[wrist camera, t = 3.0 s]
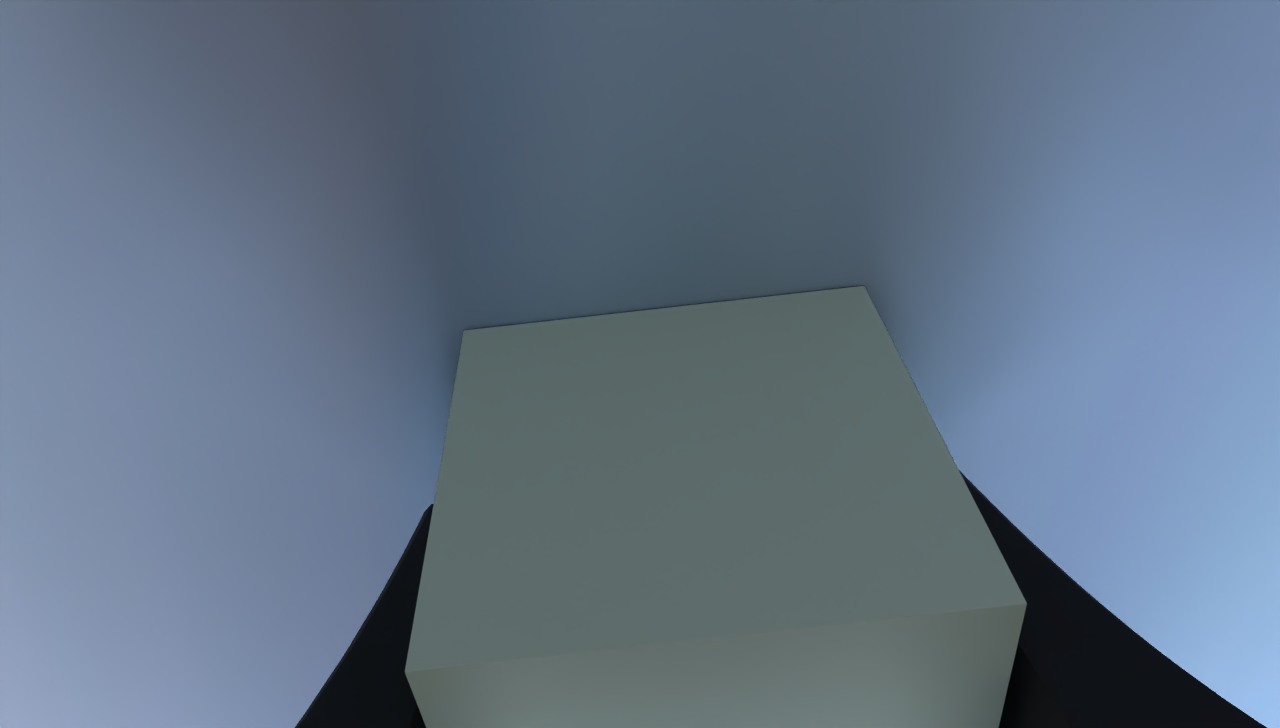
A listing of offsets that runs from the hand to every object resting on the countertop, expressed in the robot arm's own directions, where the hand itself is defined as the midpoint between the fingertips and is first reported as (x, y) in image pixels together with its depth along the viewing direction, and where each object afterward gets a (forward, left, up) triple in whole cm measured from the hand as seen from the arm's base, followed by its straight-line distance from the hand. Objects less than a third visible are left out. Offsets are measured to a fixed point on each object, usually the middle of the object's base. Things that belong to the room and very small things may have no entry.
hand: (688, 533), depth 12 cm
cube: (0, 0, -1) cm, 1 cm away
